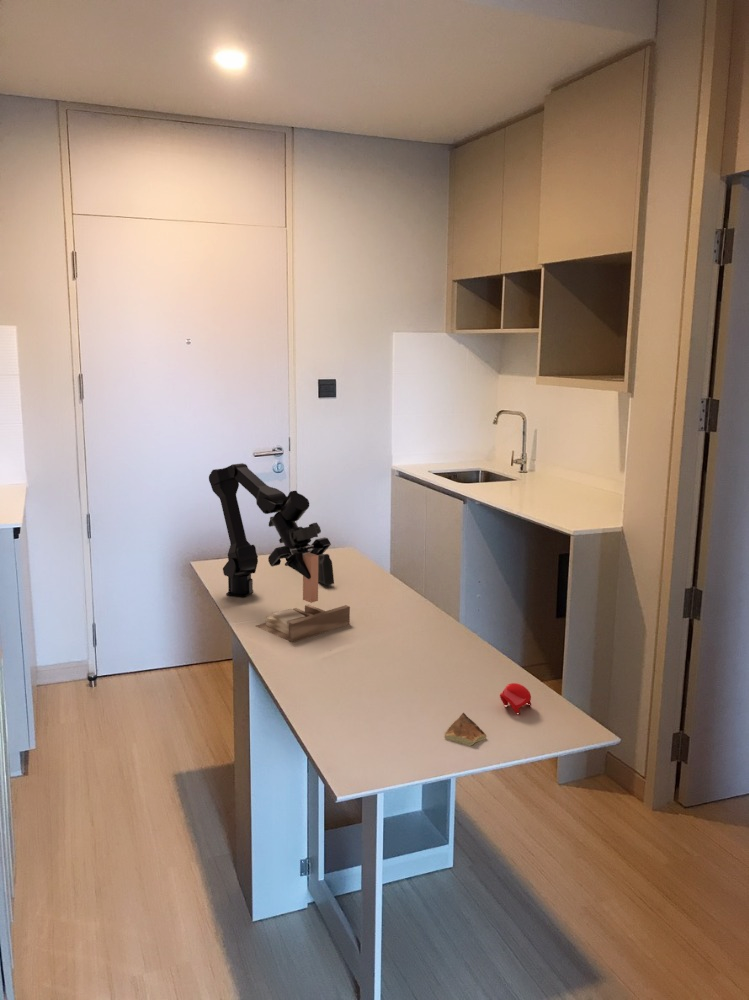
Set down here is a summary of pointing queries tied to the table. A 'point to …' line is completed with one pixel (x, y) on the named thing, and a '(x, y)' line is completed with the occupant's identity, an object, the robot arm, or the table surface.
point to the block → (311, 584)
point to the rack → (305, 622)
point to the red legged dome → (515, 696)
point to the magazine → (325, 569)
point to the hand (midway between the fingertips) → (313, 577)
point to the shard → (465, 731)
